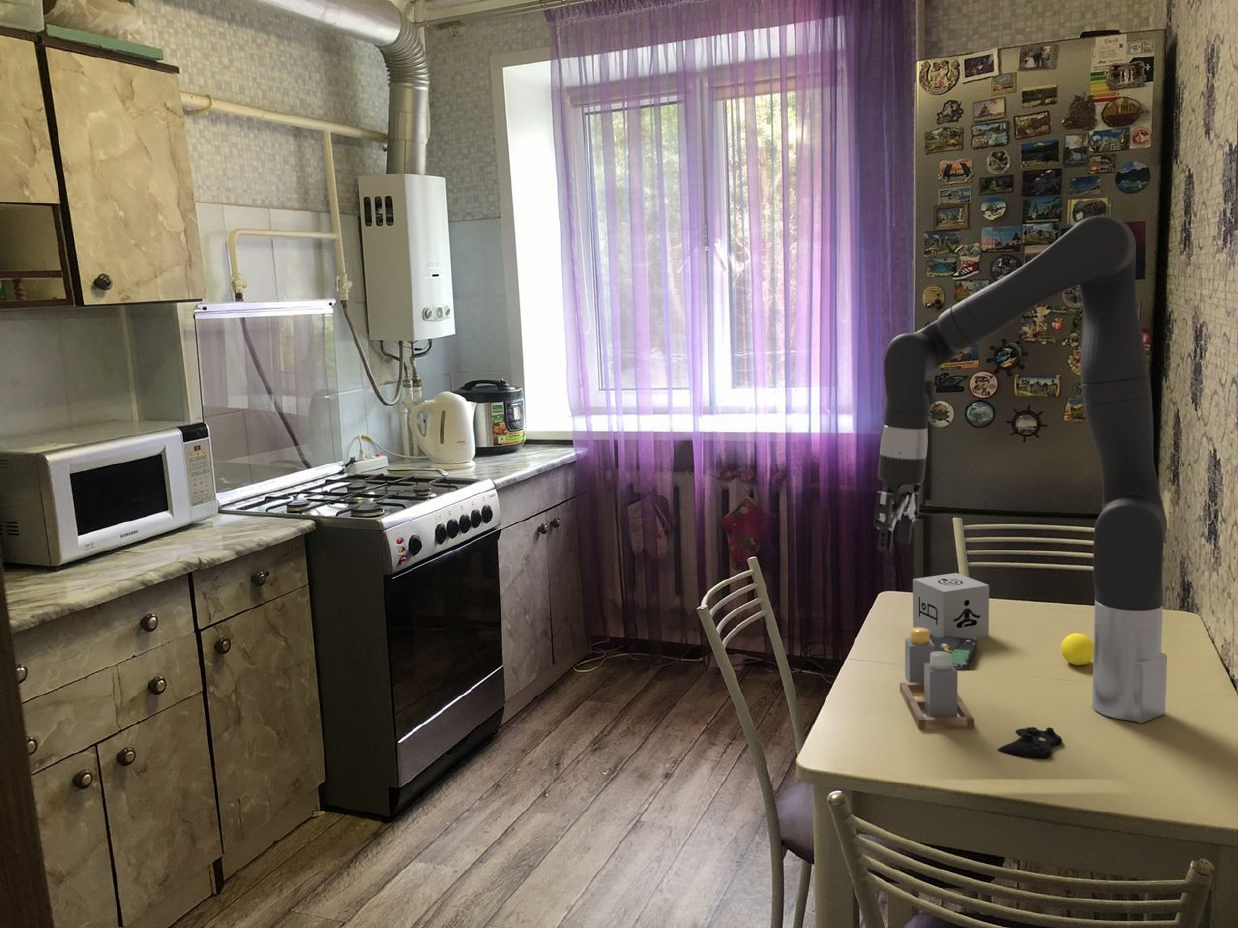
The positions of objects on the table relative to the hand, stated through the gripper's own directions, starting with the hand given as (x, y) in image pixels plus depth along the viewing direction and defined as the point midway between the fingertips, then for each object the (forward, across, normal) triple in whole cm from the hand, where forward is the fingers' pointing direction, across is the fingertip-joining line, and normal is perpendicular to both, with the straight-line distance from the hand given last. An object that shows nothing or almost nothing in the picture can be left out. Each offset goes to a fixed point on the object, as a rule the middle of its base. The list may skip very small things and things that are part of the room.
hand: (893, 547), depth 172 cm
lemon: (+20, +22, -27) cm, 40 cm away
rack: (+22, -13, -14) cm, 29 cm away
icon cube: (+22, +28, -2) cm, 35 cm away
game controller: (+21, -19, -30) cm, 41 cm away
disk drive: (+22, +12, -6) cm, 26 cm away
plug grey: (+21, -16, -16) cm, 31 cm away
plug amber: (+22, -3, -8) cm, 24 cm away
